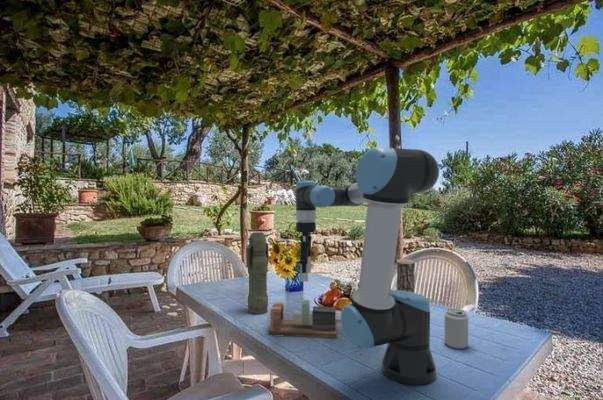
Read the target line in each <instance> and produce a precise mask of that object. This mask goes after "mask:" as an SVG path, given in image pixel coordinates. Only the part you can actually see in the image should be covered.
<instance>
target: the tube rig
mask: <svg viewBox="0 0 603 400" xmlns="http://www.w3.org/2000/svg"><path fill="white" fill-rule="evenodd" d="M284 304H285V303H284V302H278V301H277V302H276V301H275V302H273V305H272V306H271V307H270V328H269V330H268V336H269V335H283V336H282V337H290V336H293V337H295V338H316V337H320V339H321V338H322V339H337V338H338V335H337V333H338V332H337V331H338V330H337V329H338V326H337V325H338V323H337V321H336V306H317V305H315V306H313V307H312V310H311V311H312V322H309V325H302V322H299V321H293V320H284V317H285V315H284V312H285V311H284V308H285V307H284ZM293 337H292V338H293Z"/></svg>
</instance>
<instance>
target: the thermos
mask: <svg viewBox="0 0 603 400" xmlns="http://www.w3.org/2000/svg"><path fill="white" fill-rule="evenodd" d="M249 235H250V236H249V240H248V244H247V246H246V248H245V256H246V257H245V258H246V259H245V266H246V268H247V274H248V295H247V309H248V310H247V312H248V314H251V315H253V316H254V315H255V316H256V315H259V316H260V315H264V314H267V313H268V311H269V310H268V309H269V308H268V307H269V296H268V295H269V294H268V291H267V290H268V285H267V283H268V282H267V280H268V279H267V278H268V276H267V275H268V271H269V266H268V265H269V258H270V257H269V255H270V254H269V253H270V252H269V250H270V249H269V248H270V247H269V244H268V242H267V238H266V234H265V233H263V232H252V233H250V234H249Z"/></svg>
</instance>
